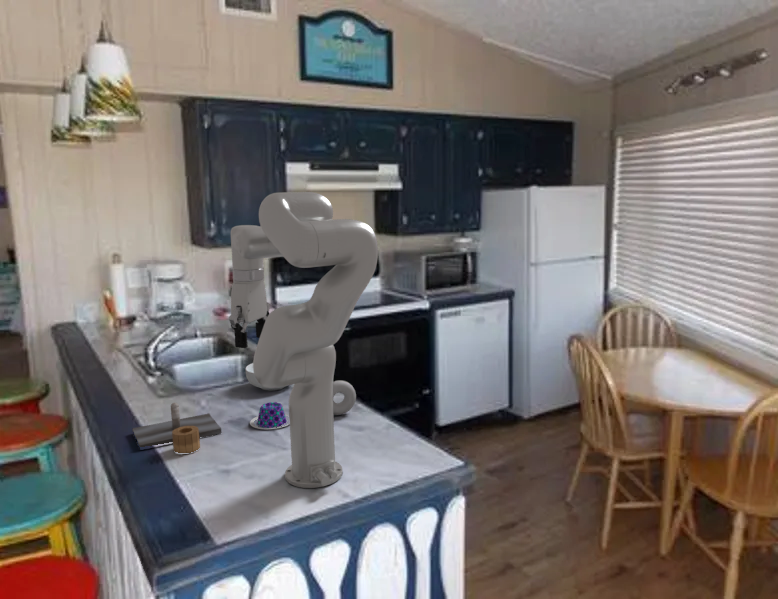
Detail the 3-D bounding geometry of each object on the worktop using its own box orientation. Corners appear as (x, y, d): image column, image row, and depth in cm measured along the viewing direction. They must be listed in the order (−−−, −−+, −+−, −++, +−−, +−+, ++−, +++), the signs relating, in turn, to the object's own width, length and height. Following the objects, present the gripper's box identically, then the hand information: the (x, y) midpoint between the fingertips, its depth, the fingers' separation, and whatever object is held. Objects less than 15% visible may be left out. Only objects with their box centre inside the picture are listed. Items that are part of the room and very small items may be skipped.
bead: (202, 451, 149) (200, 431, 149) (176, 456, 146) (175, 437, 146) (196, 442, 155) (195, 424, 154) (171, 448, 152) (170, 429, 151)
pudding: (249, 418, 172) (248, 400, 171) (292, 413, 175) (291, 396, 174) (249, 433, 160) (248, 414, 159) (296, 429, 163) (295, 410, 162)
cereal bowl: (246, 397, 189) (244, 375, 187) (247, 381, 205) (245, 361, 204) (301, 392, 192) (300, 370, 191) (298, 377, 208) (297, 357, 207)
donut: (323, 419, 169) (322, 384, 167) (320, 415, 172) (319, 381, 170) (358, 414, 172) (357, 380, 170) (354, 410, 175) (353, 376, 174)
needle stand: (221, 433, 160) (219, 402, 159) (140, 451, 150) (137, 418, 149) (209, 418, 171) (207, 389, 170) (132, 433, 161) (129, 403, 160)
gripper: (253, 270, 160) (257, 333, 164) (215, 280, 144) (219, 350, 148) (279, 271, 158) (282, 335, 161) (242, 281, 142) (246, 352, 145)
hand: (252, 342), depth 154 cm, fingers open, 9 cm apart
